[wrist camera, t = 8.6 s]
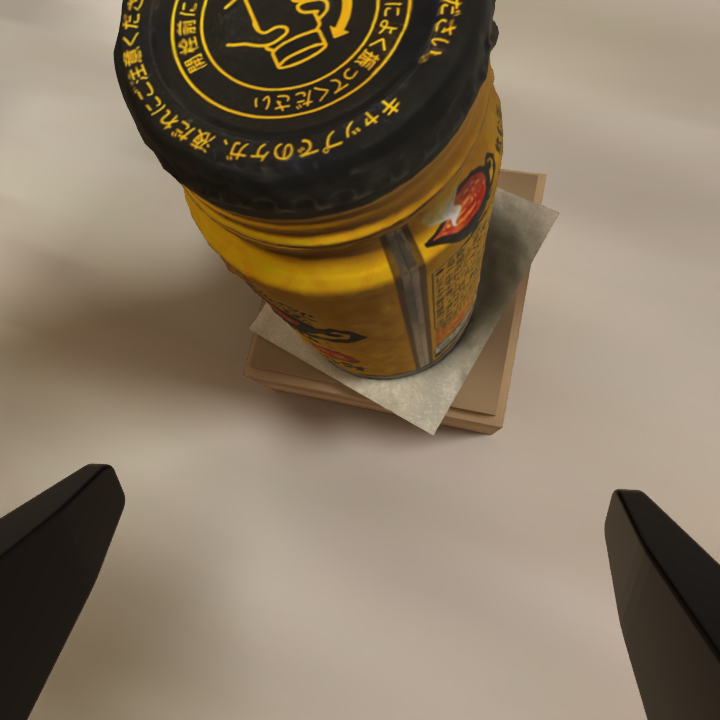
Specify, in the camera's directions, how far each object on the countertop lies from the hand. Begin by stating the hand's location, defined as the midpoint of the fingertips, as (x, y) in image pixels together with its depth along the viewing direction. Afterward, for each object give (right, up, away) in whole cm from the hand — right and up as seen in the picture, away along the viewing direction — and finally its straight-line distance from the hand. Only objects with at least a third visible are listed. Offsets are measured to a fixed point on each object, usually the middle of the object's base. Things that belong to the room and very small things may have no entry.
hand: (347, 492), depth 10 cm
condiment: (+2, +5, +9) cm, 11 cm away
